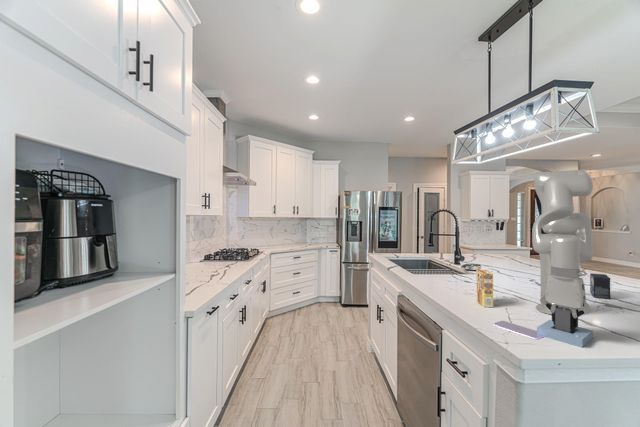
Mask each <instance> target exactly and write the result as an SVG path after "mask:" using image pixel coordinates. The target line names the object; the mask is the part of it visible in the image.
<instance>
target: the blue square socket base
mask: <svg viewBox="0 0 640 427" xmlns="http://www.w3.org/2000/svg"><path fill="white" fill-rule="evenodd" d="M536 331H537V333H539V334H542V335H544V336H545V338H548V339H552V340H555V341H558V342H562V343H566V344H569V345H573V346H576V347H579V348H584V347H585V346H586V345H587V344H588V343H589V342H590V341H591V340H593V338H594V330H592V329H589V328H584V327H580V326H578V327H576V328H575V329H574V334H571V333H568V332H564V331H560V330H556V329H555V325H554V322H553V321H552V319H548V320H547V321H545V322H543V323H541V324H540V325H538V326H536Z"/></svg>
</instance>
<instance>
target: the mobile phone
mask: <svg viewBox="0 0 640 427" xmlns="http://www.w3.org/2000/svg"><path fill="white" fill-rule="evenodd" d="M492 326H493V327H495V328H499V329H502V330H504V331H508V332H511V333H514V334H517V335H519V336H523V337H526V338H529V339H532V340H535V341H536V340H540V339H543V338H544V337H545V336H544V335H542V334H539V333H537V330H536V329H532V328H528V327H525V326H522V325H519V324H516V323H512V322H509V321H505V320H500V321H497V322H494V323H492ZM545 338H546V337H545Z"/></svg>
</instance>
